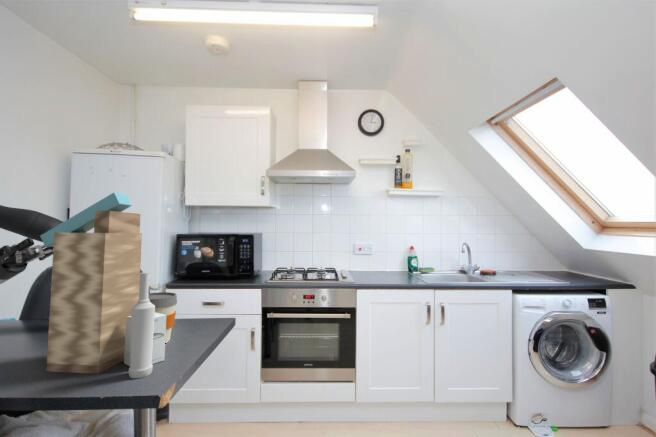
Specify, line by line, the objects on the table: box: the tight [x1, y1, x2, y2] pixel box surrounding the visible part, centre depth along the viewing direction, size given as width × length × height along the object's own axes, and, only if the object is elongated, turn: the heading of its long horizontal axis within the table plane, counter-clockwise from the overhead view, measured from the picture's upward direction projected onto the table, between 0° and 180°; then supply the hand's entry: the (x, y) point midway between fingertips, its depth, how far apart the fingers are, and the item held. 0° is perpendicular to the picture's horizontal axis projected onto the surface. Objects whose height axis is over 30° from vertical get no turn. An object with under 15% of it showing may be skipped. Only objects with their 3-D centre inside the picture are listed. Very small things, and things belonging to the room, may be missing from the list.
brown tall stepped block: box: [45, 211, 143, 375], centre depth 88 cm, size 14×14×41 cm
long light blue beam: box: [40, 192, 133, 248], centre depth 89 cm, size 22×5×15 cm, turn 86°
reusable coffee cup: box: [148, 291, 178, 344], centre depth 102 cm, size 13×13×15 cm
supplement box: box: [123, 312, 166, 367], centre depth 87 cm, size 7×7×13 cm
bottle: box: [128, 272, 155, 379], centre depth 80 cm, size 5×5×25 cm
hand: (47, 240), depth 89 cm, fingers open, 8 cm apart
